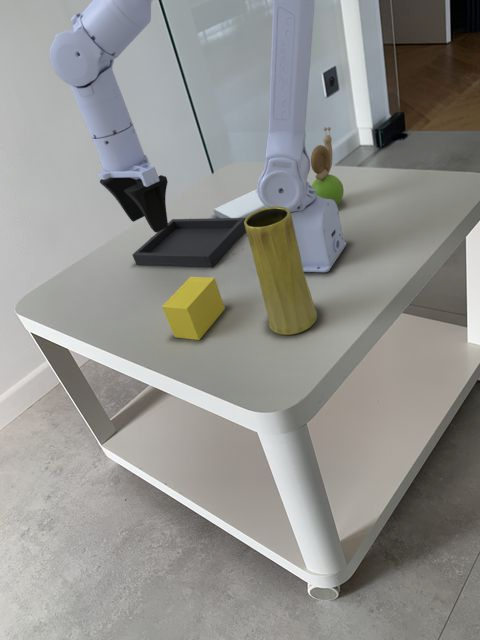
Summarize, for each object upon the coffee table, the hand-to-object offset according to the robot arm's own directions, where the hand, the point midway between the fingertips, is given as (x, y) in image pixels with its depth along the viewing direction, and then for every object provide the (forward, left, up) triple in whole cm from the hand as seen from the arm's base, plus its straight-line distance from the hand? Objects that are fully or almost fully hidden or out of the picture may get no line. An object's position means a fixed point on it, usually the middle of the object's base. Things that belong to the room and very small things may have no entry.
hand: (149, 223), depth 81 cm
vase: (-25, +8, -10) cm, 28 cm away
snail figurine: (-18, -24, -10) cm, 31 cm away
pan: (+2, -10, -9) cm, 14 cm away
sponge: (-12, +10, -9) cm, 18 cm away
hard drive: (-3, -24, -10) cm, 26 cm away
